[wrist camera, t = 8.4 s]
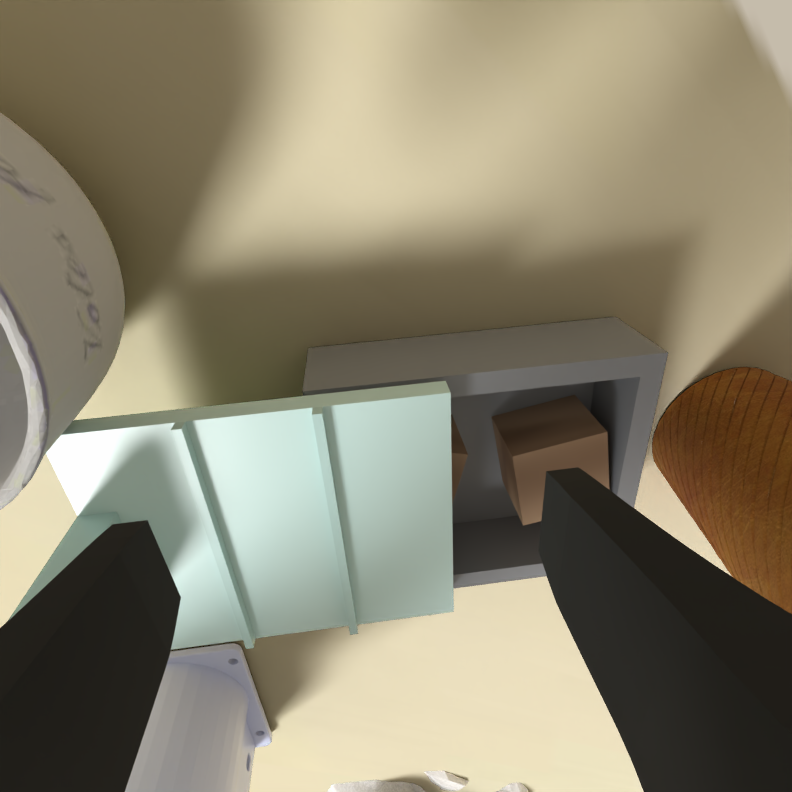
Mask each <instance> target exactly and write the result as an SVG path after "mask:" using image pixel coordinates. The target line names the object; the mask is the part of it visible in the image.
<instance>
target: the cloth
mask: <svg viewBox="0 0 792 792" xmlns="http://www.w3.org/2000/svg"><path fill="white" fill-rule="evenodd" d="M424 773H426V775H427V776H428V778H429V779H430V781H431V782H432V783H434V784H435V785H437V786H439V787H440V789H442V790H449V791H455V790H460V789H461V788H463V787H465V786H466V784H467V783H468V780H465V779H463V778H460V777H457V776H455V775H453V774H451V773H448V772H446V771H425V772H424ZM327 792H426V791H425V790H424V789H423V788H422V787H420V786H418V785H416V784H414V783H407V782H385V781H380V780H368V781H357V782H347V783H340V784H332V786H331V787H330V788H329V790H328V791H327ZM497 792H528V789H527V788H526V787H525V786H524V785H523V784H522V783H511V784H508V785H507V786H505V787H504V788H502V789H501V790H499V791H497Z"/></svg>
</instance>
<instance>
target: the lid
mask: <svg viewBox="0 0 792 792" xmlns="http://www.w3.org/2000/svg"><path fill="white" fill-rule="evenodd" d="M46 454H47V456H48V458H49V460H50V462H51V464H52V466H53V468H54V470H55V472H56V474H57V476H58V478H59V480H60V482H61V484H62V486H63V488H64V490H65V492H66V494H67V496H68V498H69V500H70V502H71V504H72V506H73V508H74V510H75V512H76V514H77V516H78V517H77V518H76V520H75V521H74V523H73V524H72V526H71V527H70V529H69V530H68V532H67V533H66V535H65V536H64V538H63V539H62V541H61V542H60V544H59V545H58V547H57V548H56V550H55V551H54V553H53V554H52V556H51V557H50V559H49V560H48V562H47V563H46V565H45V566H44V568H43V569H42V571H41V572H40V574H39V575H38V577H37V578H36V580H35V581H34V583H33V584H32V586H31V587H30V589H29V590H28V592H27V593H26V595H25V596H24V598H23V599H22V601H21V602H20V604H19V605H18V607H17V608H16V610H15V611H14V613H13V614H12V616H11V617H10V619H11V618H12V617H13V616H14V615H15V614H16V613H17V612H18V611H19V610H20V609H21V608H23V607H24V606H25V605H26V604H27V603H28V602H29V601H30V600H31V599H32V598H33V597H34V596H35V595H36V594H38V593H39V592H40V591H41V590H42V589H43V588H44V587H45V586H46V585H47V584H48V583H49V582H50V581H51V580H52V579H54V578H55V577H56V576H57V575H58V574H59V573H60V572H61V571H62V570H63V569H64V568H65V567H66V566H67V565H68V564H69V563H70V562H71V561H73V560H74V559H75V558H76V557H77V556H78V555H79V554H80V553H81V552H82V551H83V550H84V549H85V548H86V547H87V546H89V545H90V544H91V543H92V542H93V541H94V540H95V539H96V538H97V537H98V536H99V535H101V534H102V533H103V532H104V531H105V530H106V529H108V528H109V527H110V526H111V525H112V524H119V523H127V522H135V521H143V520H148V522H149V525H150V527H151V529H152V532H153V534H154V536H155V539H156V541H157V543H158V546H159V548H160V550H161V552H162V555H163V557H164V559H165V562H166V564H167V566H168V569H169V571H170V573H171V576H172V578H173V580H174V583H175V585H176V587H177V589H178V592H179V594H180V596H181V600H180V606H179V611H178V617H177V622H176V628H175V633H174V637H173V642H172V646H171V650H173V649H180V648H188V647H195V646H203V645H210V644H217V643H225V642H232V641H240V640H243V642H244V645H245V647H246V649H249V648H254V644H255V638H262V637H269V636H277V635H284V634H292V633H299V632H306V631H314V630H321V629H329V628H336V627H343V626H349V630H350V635H352V634H358V624H366V623H373V622H381V621H388V620H395V619H403V618H410V617H418V616H425V615H432V614H440V613H447V612H454V599H453V527H452V454H451V392H450V390H449V388H448V385H447V383H446V381H438V382H429V383H420V384H410V385H401V386H392V387H382V388H373V389H364V390H354V391H345V392H336V393H326V394H317V395H308V396H298V397H289V398H280V399H270V400H261V401H252V402H242V403H233V404H224V405H214V406H205V407H196V408H186V409H177V410H168V411H158V412H149V413H140V414H130V415H121V416H112V417H102V418H93V419H84V420H74V421H72V422H71V424H70V425H69V426H68V427H67V428H66V430H65V431H64V432H63V433H62V434H61V436H60V437H59V438H58V439H57V440H56V442H55V443H54V444H53V445H52V446H51V448H50V449H49V450H48V451H47V452H46ZM10 619H9V620H10ZM9 620H8V621H9Z"/></svg>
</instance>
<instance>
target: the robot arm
mask: <svg viewBox="0 0 792 792" xmlns="http://www.w3.org/2000/svg"><path fill="white" fill-rule="evenodd" d="M538 551H539V554H540V557H541V560H542V563H543V566H544V569H545V572H546V575H547V578H548V581H549V584H550V586H551V589H552V592H553V595H554V597H555V600H556V603H557V605H558V607H559V609H560V611H561V614H562V616H563V618H564V620H565V622H566V624H567V626H568V628H569V630H570V632H571V634H572V636H573V639H574V641H575V643H576V645H577V647H578V649H579V651H580V653H581V655H582V657H583V659H584V661H585V663H586V665H587V667H588V669H589V671H590V673H591V675H592V677H593V680H594V682H595V684H596V686H597V688H598V690H599V692H600V694H601V696H602V698H603V700H604V702H605V704H606V706H607V708H608V710H609V712H610V714H611V716H612V718H613V720H614V723H615V725H616V727H617V729H618V731H619V733H620V735H621V738H622V740H623V742H624V744H625V747H626V749H627V751H628V753H629V756H630V758H631V760H632V763H633V765H634V768H635V770H636V773H637V775H638V778H639V780H640V783H641V786H642V788H643V791H644V792H792V614H791V613H789V612H787V611H786V610H784V609H782V608H781V607H779V606H777V605H776V604H774V603H772V602H771V601H769V600H768V599H766V598H764V597H763V596H761V595H759V594H758V593H756V592H755V591H753V590H752V589H750V588H749V587H747V586H746V585H744V584H742V583H741V582H739V581H738V580H736V579H735V578H733V577H732V576H730V575H729V574H727V573H725V572H724V571H722V570H721V569H719V568H718V567H716V566H715V565H713V564H712V563H710V562H709V561H707V560H706V559H704V558H703V557H701V556H700V555H698V554H697V553H696V552H694V551H693V550H691V549H690V548H688V547H687V546H685V545H684V544H683V543H681V542H680V541H678V540H677V539H675V538H674V537H673V536H671V535H670V534H668V533H667V532H666V531H664V530H663V529H661V528H660V527H659V526H657V525H656V524H655V523H653V522H652V521H651V520H649V519H648V518H646V517H645V516H644V515H642V514H641V513H640V512H638V511H637V510H636V509H634V508H633V507H632V506H630V505H629V504H628V503H626V502H625V501H624V500H622V499H621V498H620V497H618V496H617V495H616V494H614V493H613V492H612V491H610V490H609V489H608V488H606V487H605V486H604V485H602V484H601V483H600V482H598V481H597V480H596V479H594V478H593V477H592V476H590V475H589V474H587V473H586V472H585V471H583V470H582V469H580V468H579V467H576V468H568V469H560V470H552V471H546V478H545V489H544V499H543V509H542V519H541V529H540V539H539V550H538ZM180 600H181V596H180V594H179V592H178V589H177V587H176V585H175V583H174V580H173V578H172V576H171V573H170V571H169V569H168V566H167V564H166V562H165V559H164V557H163V555H162V552H161V550H160V548H159V546H158V543H157V541H156V539H155V536H154V534H153V532H152V529H151V527H150V525H149V522H148V520H143V521H135V522H127V523H119V524H112V525H111V526H110V527H109V528H108V529H106V530H105V531H104V532H103V533H102V534H101V535H99V536H98V537H97V538H96V539H95V540H94V541H93V542H92V543H91V544H90V545H89V546H87V547H86V548H85V549H84V550H83V551H82V552H81V553H80V554H79V555H78V556H77V557H76V558H75V559H74V560H73V561H71V562H70V563H69V564H68V565H67V566H66V567H65V568H64V569H63V570H62V571H61V572H60V573H59V574H58V575H57V576H56V577H55V578H54V579H52V580H51V581H50V582H49V583H48V584H47V585H46V586H45V587H44V588H43V589H42V590H41V591H40V592H39V593H38V594H36V595H35V596H34V597H33V598H32V599H31V600H30V601H29V602H28V603H27V604H26V605H25V606H24V607H23V608H21V609H20V610H19V611H18V612H17V613H16V614H15V615H14V616H13V617H12V618H11V619H10V620H9V621H8V622H6V623H5V624H4V625H3V626H2V627H1V628H0V792H249V788H250V781H251V773H252V766H253V758H254V751H255V747H262V746H267V745H269V744H270V743H271V742H272V733H271V730H270V727H269V724H268V722H267V719H266V716H265V713H264V710H263V707H262V704H261V702H260V699H259V696H258V693H257V690H256V687H255V684H254V682H253V679H252V676H251V673H250V670H249V667H248V665H247V662H246V659H245V656H244V653H243V650H242V648H241V646H240V645H238V644H235V643H229V644H222V645H215V646H207V647H200V648H192V649H185V650H178V651H171V646H172V642H173V637H174V633H175V628H176V622H177V617H178V611H179V606H180Z"/></svg>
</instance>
